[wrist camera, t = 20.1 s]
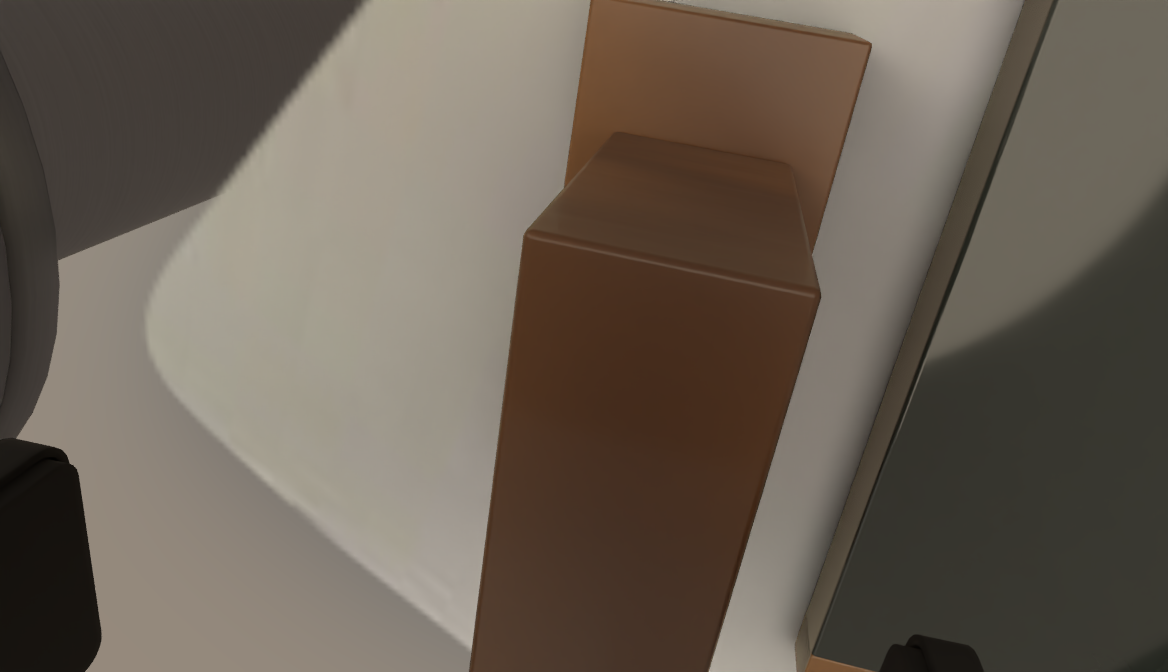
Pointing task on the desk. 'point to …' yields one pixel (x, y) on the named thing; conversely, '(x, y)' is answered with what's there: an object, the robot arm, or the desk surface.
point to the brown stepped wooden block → (659, 336)
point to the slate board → (1029, 382)
